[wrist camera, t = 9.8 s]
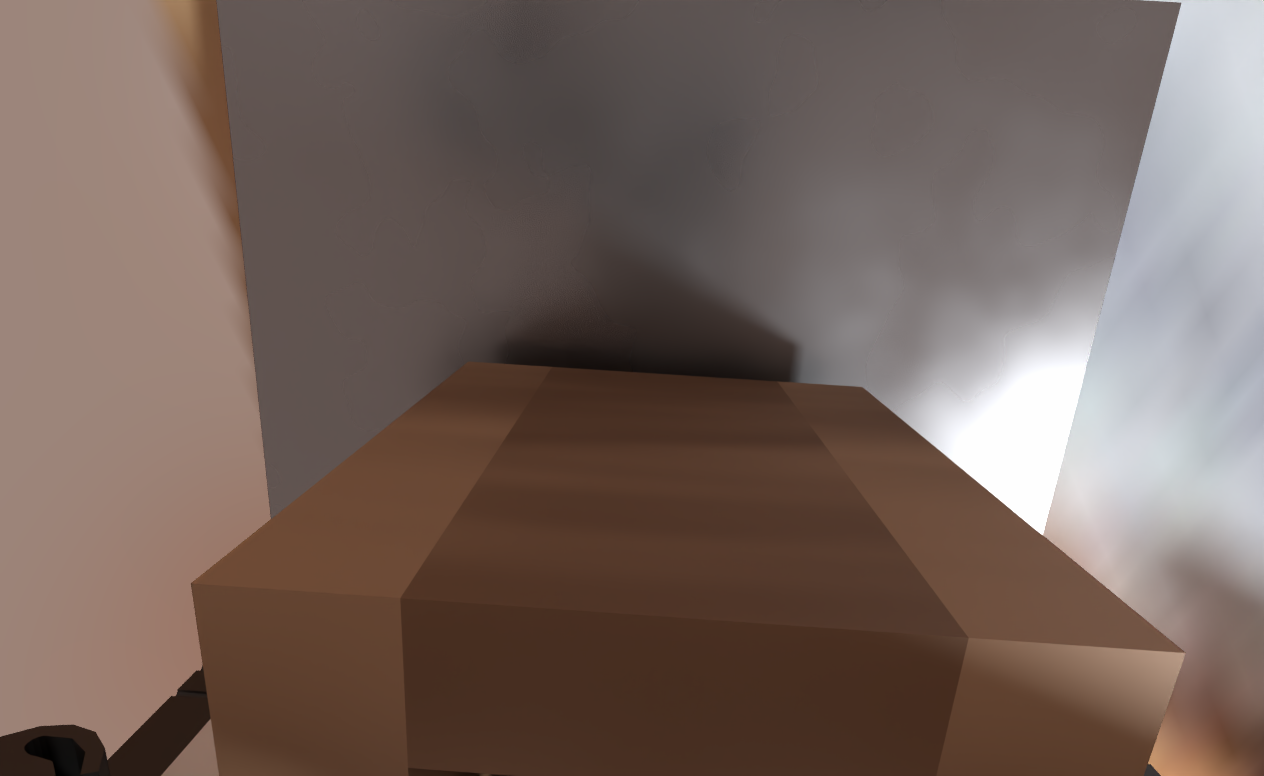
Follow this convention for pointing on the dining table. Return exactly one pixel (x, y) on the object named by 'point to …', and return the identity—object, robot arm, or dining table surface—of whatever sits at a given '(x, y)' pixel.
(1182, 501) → the dining table surface
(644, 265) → the shaft stand
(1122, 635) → the hollow wooden cube
